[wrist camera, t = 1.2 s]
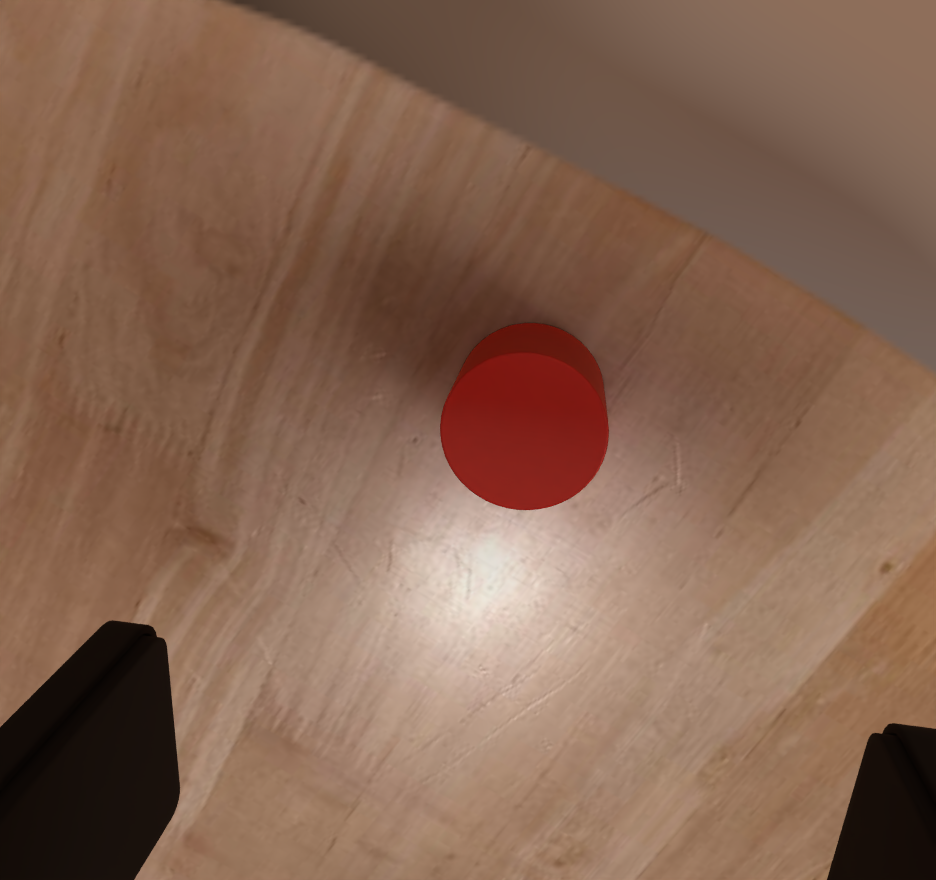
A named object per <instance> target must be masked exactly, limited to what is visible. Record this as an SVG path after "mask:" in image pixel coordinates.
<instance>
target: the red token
mask: <svg viewBox="0 0 936 880" xmlns="http://www.w3.org/2000/svg"><path fill="white" fill-rule="evenodd" d="M440 436H441V442H442V448H443V451H444V454H445V457H446V459H447V461H448V463H449V466H450V467H451V469H452V470H453V472H454V474H455V475H456V476H457V477H458V479H459V480H460V481H461V482H462V483H463V484H464V485H465V486H466V487H467V488H468V489H469V490H471V491H472V492H473V493H475V494H476V495H477V496H479V497H481V498H482V499H484V500H486V501H488V502H490V503H493V504H495V505H498V506H502V507H505V508H510V509H516V510H535V509H542V508H547V507H551V506H554V505H557V504H559V503H562V502H564V501H566V500H568V499H570V498H571V497H573V496H574V495H576V494H577V493H579V492H580V491H581V490H582V489H583V488H585V487H586V486H587V484H588V483H589V482H590V481H591V480H592V479H593V478H594V476H595V475H596V473H597V472H598V470H599V468H600V466H601V464H602V462H603V460H604V457H605V454H606V451H607V446H608V438H609V427H608V417H607V408H606V400H605V392H604V383H603V379H602V375H601V372H600V369H599V367H598V364H597V363H596V361H595V359H594V357H593V356H592V354H591V353H590V352H589V350H588V349H587V348H586V347H585V346H584V345H583V344H582V343H581V342H580V341H579V340H577V339H576V338H575V337H574V336H572V335H570V334H569V333H567V332H565V331H563V330H561V329H558V328H556V327H553V326H549V325H545V324H538V323H523V324H515V325H511V326H507V327H505V328H502V329H500V330H497V331H495V332H494V333H492V334H490V335H489V336H487V337H486V338H484V339H483V340H482V341H481V342H480V343H479V344H478V345H477V346H476V347H475V348H474V349H473V350H472V352H471V353H470V354H469V356H468V357H467V359H466V361H465V363H464V365H463V367H462V369H461V371H460V373H459V375H458V377H457V379H456V381H455V383H454V385H453V387H452V389H451V391H450V393H449V395H448V397H447V399H446V402H445V404H444V407H443V411H442V415H441V423H440Z"/></svg>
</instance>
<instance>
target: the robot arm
mask: <svg viewBox="0 0 936 880" xmlns="http://www.w3.org/2000/svg"><path fill="white" fill-rule="evenodd" d="M179 794H180V782H179V772H178V761H177V750H176V739H175V729H174V718H173V707H172V696H171V686H170V675H169V664H168V653H167V645H166V642H165V640H164V639H163V638H159V637H157V635H156V632H155V630H154V628H153V627H151V626H149V625H143V624H136V623H128V622H120V621H108V622H106V623H105V624H104V625H102V626H101V627H100V628H99V629H98V630H97V631H96V632H95V633H94V634H93V635H92V636H91V637H90V638H89V639H88V640H87V641H86V642H85V643H84V644H83V645H82V646H81V647H80V648H79V649H78V650H77V651H76V652H75V653H74V654H73V655H72V656H71V657H70V658H69V659H68V660H67V661H66V662H65V663H64V664H63V665H62V666H61V667H60V668H59V669H58V670H57V671H56V672H55V673H54V674H53V675H52V676H51V677H50V678H49V679H48V680H47V681H46V682H45V683H44V684H43V685H42V686H41V687H40V688H39V689H38V690H37V691H36V692H35V693H34V694H33V695H32V696H31V697H30V698H29V699H28V700H27V701H26V702H25V703H24V704H23V705H22V706H21V707H20V708H19V709H18V710H17V711H16V712H15V713H14V714H13V715H12V716H11V717H10V718H9V719H8V720H7V721H6V722H5V723H4V724H3V725H2V726H1V727H0V880H134V879H135V877H136V876H137V874H138V872H139V871H140V869H141V867H142V866H143V864H144V863H145V861H146V859H147V858H148V856H149V854H150V853H151V851H152V849H153V848H154V846H155V845H156V843H157V841H158V840H159V838H160V836H161V835H162V833H163V832H164V830H165V828H166V827H167V825H168V823H169V822H170V820H171V818H172V816H173V815H174V813H175V810H176V807H177V804H178V800H179ZM827 880H936V729H933V728H925V727H918V726H910V725H902V724H895V723H892V724H888V725H887V726H886V728H885V729H884V731H883V733H882V734H880V733H873V734H872V735H871V736H870V737H869V739H868V742H867V745H866V749H865V752H864V755H863V759H862V762H861V766H860V769H859V772H858V776H857V779H856V783H855V786H854V789H853V793H852V796H851V800H850V803H849V806H848V810H847V813H846V817H845V820H844V823H843V827H842V830H841V834H840V837H839V841H838V844H837V847H836V851H835V854H834V858H833V861H832V864H831V868H830V871H829V875H828V878H827Z"/></svg>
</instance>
